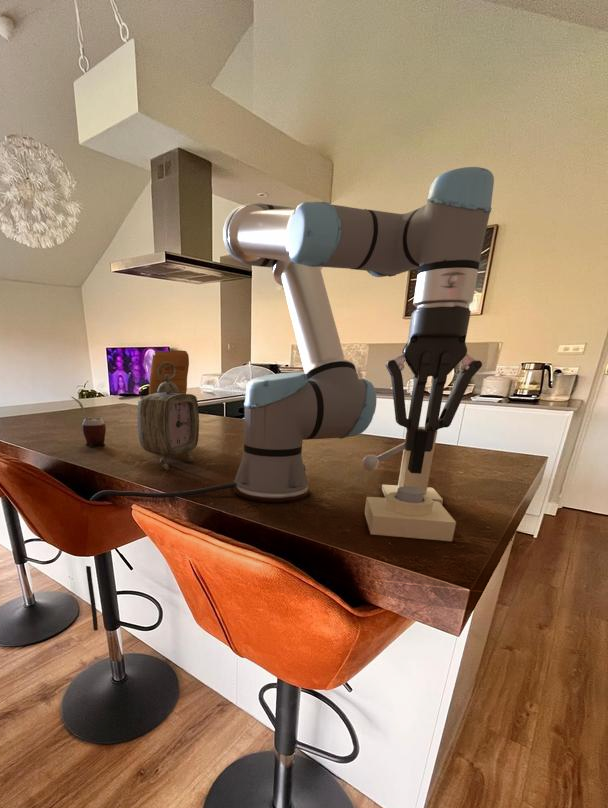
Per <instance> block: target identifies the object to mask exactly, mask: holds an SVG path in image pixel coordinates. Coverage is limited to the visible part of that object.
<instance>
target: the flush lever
mask: <svg viewBox="0 0 608 808" xmlns="http://www.w3.org/2000/svg"><path fill="white" fill-rule="evenodd" d="M423 429H424V428H423ZM404 449H405V441H404V442H402V443H401V444H399V445H396V446H394V447H392V448H391V449H389V450H387V451H385V452H382V453H380V454H379V455H375V454H367V455H366V456H364V458H363V459H362V466H363V468H364V469H365V470H367V471H375V470H377V469H378V468H379V466H380V462H382V461H384V460H386V459H388V458H390V457H392V456H394V455H396V454H398V453H400V452H403V450H404Z"/></svg>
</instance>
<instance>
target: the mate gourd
mask: <svg viewBox="0 0 608 808" xmlns="http://www.w3.org/2000/svg"><path fill="white" fill-rule="evenodd" d="M71 398H72V399H73V400H74V401H75V402H77V403H78V405H79V407H80V408H81V410H82V413H83V414H84V417H85V419H83V421H82V424H81V430H82V435H83V437H84V439H85V441H86V443H85V445H86V446H89V448H94V447H96V446H97V447H105V446H106V444H105V439H106V433H107V427H106V424H105V421H104V420H103V418H98V417H91V418H89V417H88V415H87V413H86V409H85V408H84V405H83V403H82V402H81V401H80V400H78V399H77V398H76V397H73V396H71Z"/></svg>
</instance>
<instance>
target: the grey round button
mask: <svg viewBox="0 0 608 808" xmlns="http://www.w3.org/2000/svg"><path fill="white" fill-rule="evenodd" d="M423 497H424V490H422V489H419V488H415V487H399V488H398V490H397V496H396V499H398V500H401V501H405V502H413V503H419V502H423Z"/></svg>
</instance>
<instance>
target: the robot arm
mask: <svg viewBox="0 0 608 808" xmlns="http://www.w3.org/2000/svg"><path fill="white" fill-rule="evenodd" d="M494 184H495V176H494V174H493V172H492V171H490V170H489V169H488V168H485V167H480V166H465V167H459V168H454V169H451V170H447V171H445V172H443V173H440V174H439V175H438V176H437V177H436V178H435V179H434V180H433V181H432V183H430V185H429V192H428V194H427V197H426V202H427V203H426V204H424V205H422V206H421V207H419V208H417V209H414V210H412V211H409V212H406V213H396V212H390V211H381V210H376V209H375V210H374V209H366V208H357V207H350V206H344V205H337V204H331V203H329V202H327V201H303V202H301V203H300V204H298V205H297V206H296V207H290V206H282V205H275V204H267V203H262V202H250V203H245V204H242V205H239V206H237V207H235V208H234V209H233V210H232V211H231V212H230V213H229V214H228V215H227V217H226V219H225V221H224V224H223V229H222V238H223V244H224V247H225V249H226V251H227V252H228V254H229V255H230V256H231V257H232V258H233V259H234V260H236V261H238V262H239V263H242V264H244V265H248V266H253V267H260V268H261V267H262V268H270V269H271V272H272V276H273V278H274V281H275V283H277V284H278V285H279V286H282V288H283V291H284V296H285V299H286V305H287V308H288V312H289V316H290V321H291V324H292V328H293V333H294V336H295V341H296V345H297V348H298V352H299V353H298V354H299V357H300V361H301V365H302V369H303V372H284V373H283V372H282V373H273V374H267V375H262V376H261V375H260V376H257V377H254V378H251V379H250V380H249V381H248V383H247V384H246V387H245V397H244V402H243V407H244V415H243V416H244V418H243V419H244V423H243V424H244V425H243V455H242V458H241V461H240V462H239V463H240V464H239V467H238V469H237V472H236V475H235V478H234V480H233V482H228V483H224V484H223V483H222V484H218V485H213V486H208V487H203V488H198V489H191V490H184V491H175V492H174V491H173V492H146V491H133V490H132V491H131V490H124V491H123V490H111V489H107V490H106V489H105V490H101V491H98V492H97V493H95V494H94V495H92V497H91V498H90V500H89V502H96V501H98V500H99V498H101V497H105V496H116V497H138V498H139V497H140V498H152V499H165V498H166V499H167V498H180V497H188V496H195V495H201V494H205V493H206V494H207V493H211V492H215V491H221V490H227V489H232V488H233V492H234V494H236V495H237V496H238V497H241V498H244V499H246V500H250V501H255V502H262V503H289V502H295V501H299V500H301V499H304V498H305V497H307V495H308V492H309V482H308V481H309V480H308V477H307V474H306V465H305V464H304V461H303V457H302V454H303V453H302V452H303V441H306V440H307V441H308V440H309V441H310V440H325V439H327V440H328V439H329V440H330V439H340V440H342V439H346V438H352V437H356V436H359V435H361V434H363V433H364V432H365V431H366V430H367V429H368V428H369V426H370V424H371V423H372V421H373V419H374V415H375V413H376V408H377V391H376V388H375V386H374V384H373V383H372V382H371V381H369V380H368V379H366V378H359V375H358V372H357V368H356V365H355V364H354V362H353V361H351V360H348V359H345V354H344V351H343V348H342V343H341V340H340V336H339V332H338V329H337V325H336V321H335V318H334V314H333V310H332V306H331V302H330V300H329V295H328V292H327V288H326V284H325V280H324V276H323V273H322V270H323V268H331V269H332V268H333V269H347V270H356V271H364V272H365V271H366V272H367V273H368V274H369V275H371V276H372V277H375V278H384V277H389V278H391V277H395V276H397V275H400V274H403V273H406V272H410V271H414V270H417V273H416V274H417V276H416V283H415V288H414V296H413V302H412V305H413V306H414V307H416V309H414V310H413V312H411V316H410V323H409V330H408V337H407V342H406V344H405V346H404V347H403V349H402V353H401V354H399V355H397V356H396V357H393V359H388V360H386V362H385V368H386V369H387V371H388V374H389V376H390V380H391V389H392V399H393V408H394V416H395V417H394V418H395V423H397V425H399V426H401V427H404V428H405V429H406V431H407V433H406V432H405V438H406V440H405V439H404V442H405V449H406V450H407V451H411V452H410V458H409V464H408V470H409V471H410V472H411V473H417V474H421V472H422V466H423V460H424V454H425V452H431V450H432V448H433V442H434V437H435V432H436V431H437V432H438V430H440V429H443V428H449V427H450V426H451V425H452V422H453V420H454V418H455V415H456V413H457V411H458V409H459V407H460V404H461V402H462V401H463V398H464V396H465V393H466V391H467V390H468V387H469V385H470V383H471V380H472V378H473V377H474V376H475V375H476V374H477V372H479V371H480V369H481V368H482V367H483V362H482V360H477V359H474V358H473V357H472V356H470V355H469V354H468V347H467V344H466V339H467V334H468V330H469V323H470V319H471V314H472V311H471V309H470V308H469V307H468V306H469V305H471V304H472V303H473V301H474V296H475V291H476V285H477V281H478V280H477V279H478V274H479V269H480V262H481V257H482V253H483V248H484V242H485V237H486V233H487V228H488V224H489V219H490V215H491V213H492V209H493V208H492V203H493V202H492V201H493V193H494V186H495V185H494ZM404 363H406V364H407V366H408V367H409V369H410V371H411V373H412V374H413V381H412V382H413V385H412V391H411V397H410V404H409V411H408V417H407V410H406V409H407V408H406V401H405V398H406V397H405V389H404V379H403V374H402V371H403V370H404V369H405V364H404ZM459 364H460V365H459ZM458 365H459V367H458V371H459V373H458V375H457V377H456V378H455V381H454V383H453V385H452V388H451V390H450V391H449V394H448V398H447V400H446V402H445V404H444V406H443V408H442V403H443V396H444V391H445V385H446V384H447V379H448V375H450V374H451V372H452V371H453V370H454V369H456V367H457V366H458ZM429 377H431V386H430V391H429V397H428V402H427V403H428V404H427V410H426V415H425V422H424V427H425V429H418V427H420V421H421V414H422V409H423V403H424V397H425V391H426V385H427V383H428V378H429ZM441 408H442V411H441ZM85 572H86V580H87V587H88V594H89V601H90V608H91V616H92V617H91V618H92V628H93V631H95V632H96V631H98V630H99V626H98V625H99V624H98V615H97V614H98V613H97V606H96V598H95V591H94V584H93V575H92V565H91V566H90V565H85Z"/></svg>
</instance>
